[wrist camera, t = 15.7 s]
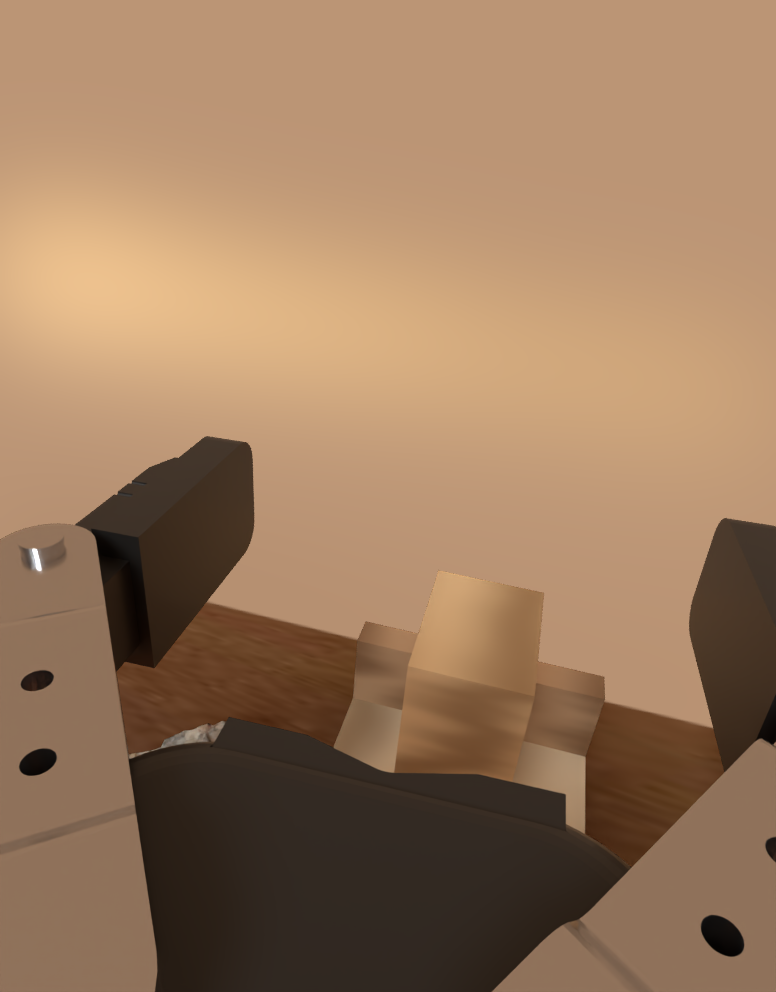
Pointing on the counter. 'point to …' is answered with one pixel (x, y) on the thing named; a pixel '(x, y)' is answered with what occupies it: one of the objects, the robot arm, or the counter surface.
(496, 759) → the oak plank block
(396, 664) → the birch board
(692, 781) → the counter surface
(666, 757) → the counter surface
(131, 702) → the counter surface
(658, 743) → the counter surface
